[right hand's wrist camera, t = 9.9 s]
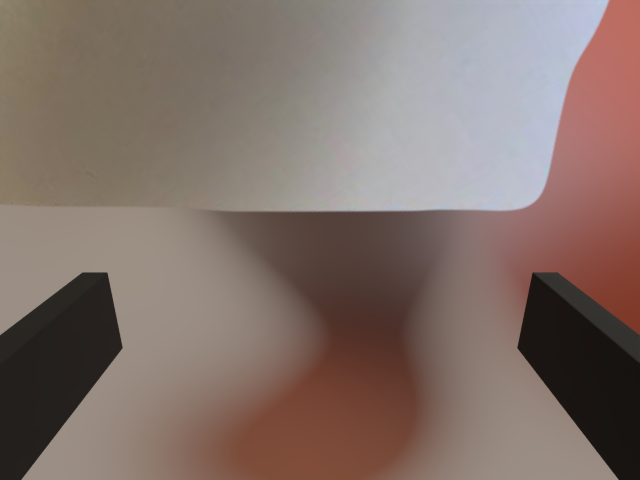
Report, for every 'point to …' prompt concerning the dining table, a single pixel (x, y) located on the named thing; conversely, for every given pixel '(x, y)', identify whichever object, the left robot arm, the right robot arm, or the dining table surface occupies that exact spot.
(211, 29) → the dining table surface
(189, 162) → the dining table surface
